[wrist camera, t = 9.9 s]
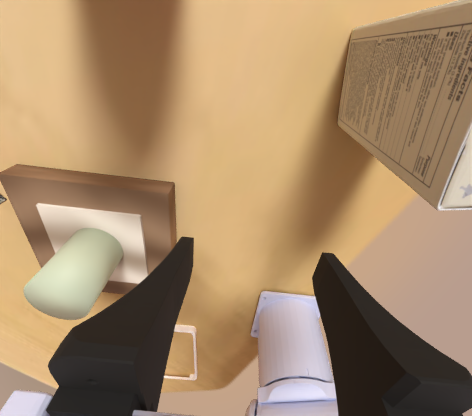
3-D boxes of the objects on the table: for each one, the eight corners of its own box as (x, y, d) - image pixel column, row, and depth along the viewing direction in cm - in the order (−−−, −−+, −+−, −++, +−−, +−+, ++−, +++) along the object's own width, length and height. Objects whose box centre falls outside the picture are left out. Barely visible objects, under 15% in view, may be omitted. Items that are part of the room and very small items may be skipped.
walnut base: (177, 285, 30) (172, 301, 28) (61, 272, 29) (48, 288, 28) (174, 182, 22) (167, 195, 20) (16, 164, 22) (-6, 175, 20)
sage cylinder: (125, 268, 25) (94, 323, 20) (77, 261, 25) (33, 315, 20) (121, 232, 23) (84, 285, 18) (67, 223, 22) (14, 275, 17)
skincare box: (393, 122, 18) (570, 214, 8) (333, 125, 19) (431, 217, 9) (423, 17, 15) (786, -47, 5) (348, 23, 15) (542, -26, 5)
